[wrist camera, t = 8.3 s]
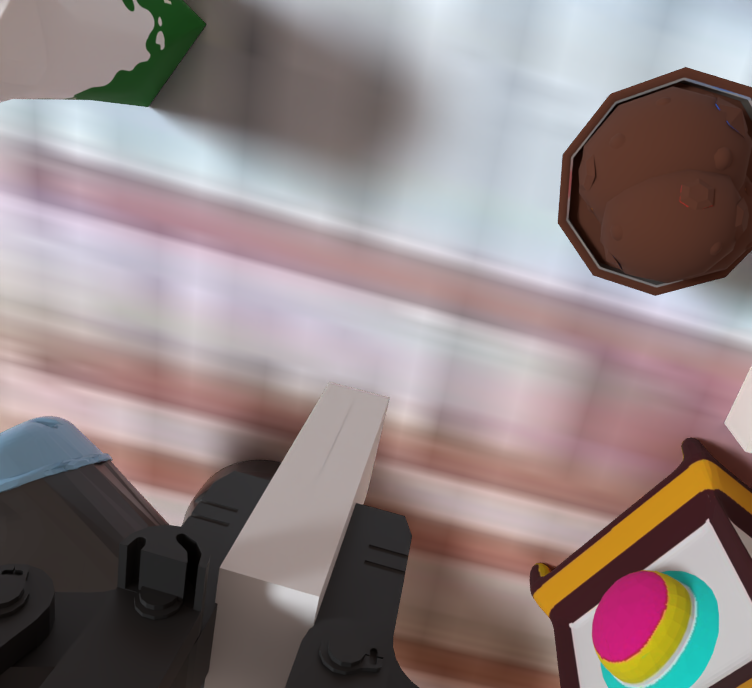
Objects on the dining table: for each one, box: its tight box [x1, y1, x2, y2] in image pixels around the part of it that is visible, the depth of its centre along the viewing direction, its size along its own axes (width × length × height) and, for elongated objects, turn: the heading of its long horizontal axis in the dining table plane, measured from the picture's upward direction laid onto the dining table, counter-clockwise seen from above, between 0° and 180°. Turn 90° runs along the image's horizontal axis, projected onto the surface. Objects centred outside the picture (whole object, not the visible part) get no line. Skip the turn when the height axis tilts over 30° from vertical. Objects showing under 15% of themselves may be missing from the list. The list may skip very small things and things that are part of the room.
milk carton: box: [0, 0, 206, 107], centre depth 33 cm, size 9×9×20 cm
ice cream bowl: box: [558, 67, 752, 296], centre depth 33 cm, size 11×11×15 cm
